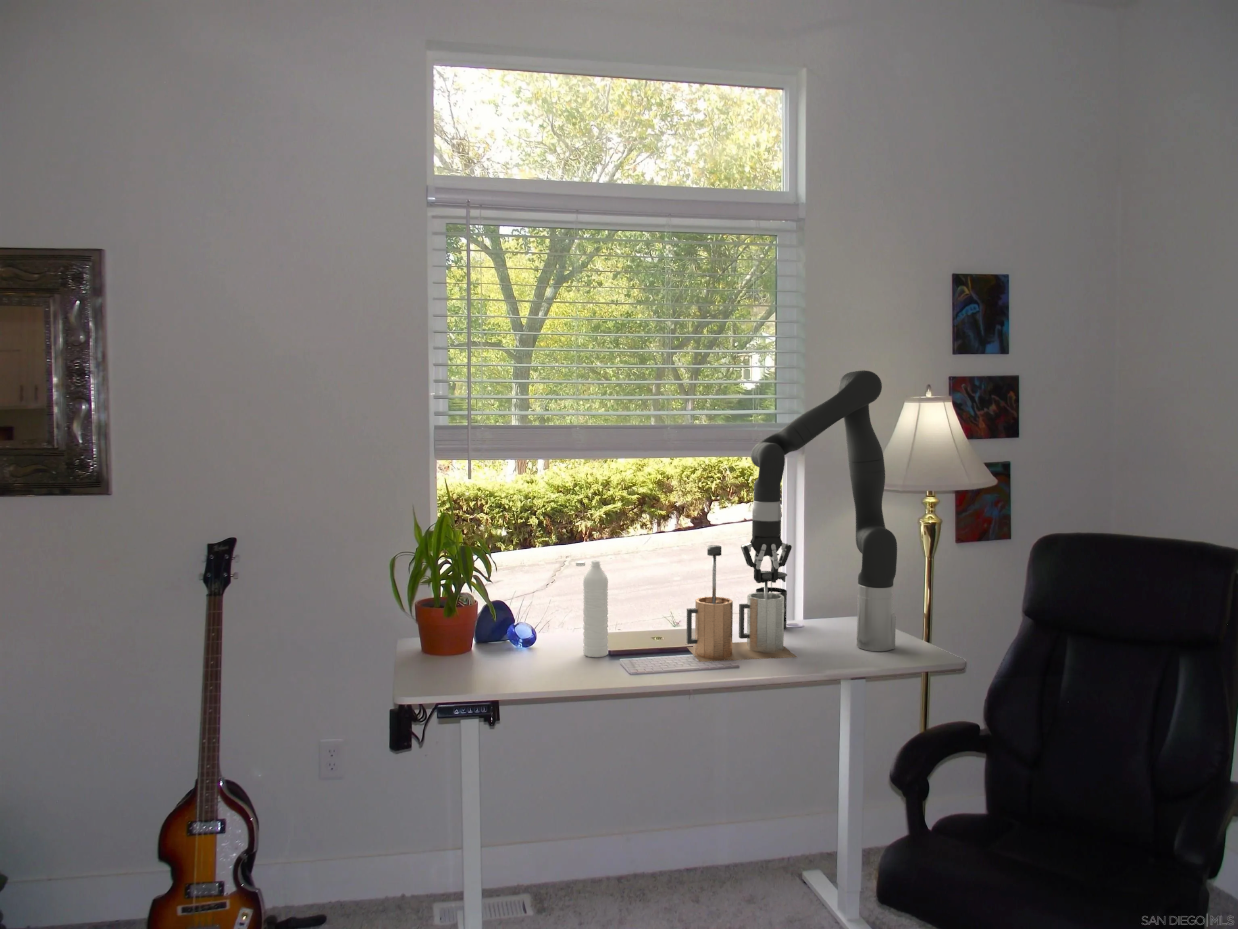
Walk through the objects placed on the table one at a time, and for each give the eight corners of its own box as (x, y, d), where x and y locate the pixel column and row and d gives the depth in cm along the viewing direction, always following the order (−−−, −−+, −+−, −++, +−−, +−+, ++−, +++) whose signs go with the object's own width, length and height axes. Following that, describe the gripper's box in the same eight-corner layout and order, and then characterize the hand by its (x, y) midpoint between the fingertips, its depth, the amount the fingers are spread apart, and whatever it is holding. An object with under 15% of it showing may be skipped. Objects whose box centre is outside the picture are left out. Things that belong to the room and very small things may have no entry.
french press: (793, 634, 250) (794, 555, 249) (761, 636, 249) (762, 556, 247) (778, 624, 262) (779, 549, 261) (748, 626, 260) (749, 549, 259)
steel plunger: (773, 628, 236) (773, 569, 235) (781, 634, 229) (782, 573, 228) (749, 629, 235) (750, 570, 234) (757, 635, 228) (757, 574, 227)
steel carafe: (776, 642, 237) (776, 591, 237) (787, 651, 228) (788, 599, 227) (734, 644, 236) (734, 593, 235) (744, 653, 226) (745, 600, 226)
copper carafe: (725, 647, 232) (726, 596, 231) (736, 657, 223) (736, 603, 222) (682, 649, 230) (683, 597, 229) (691, 659, 221) (691, 605, 220)
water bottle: (602, 649, 235) (602, 558, 233) (611, 656, 229) (611, 561, 227) (571, 653, 231) (571, 560, 230) (580, 659, 225) (580, 564, 224)
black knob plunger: (722, 604, 230) (723, 544, 229) (729, 610, 223) (730, 548, 222) (698, 605, 229) (698, 544, 228) (704, 611, 222) (705, 548, 221)
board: (776, 644, 240) (776, 640, 239) (797, 661, 224) (797, 657, 224) (684, 649, 235) (684, 644, 235) (699, 666, 220) (699, 661, 220)
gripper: (787, 515, 235) (786, 579, 236) (736, 516, 233) (735, 580, 234) (797, 519, 227) (796, 584, 228) (745, 520, 225) (744, 586, 226)
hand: (765, 582), depth 231 cm, fingers closed on steel plunger, 3 cm apart
